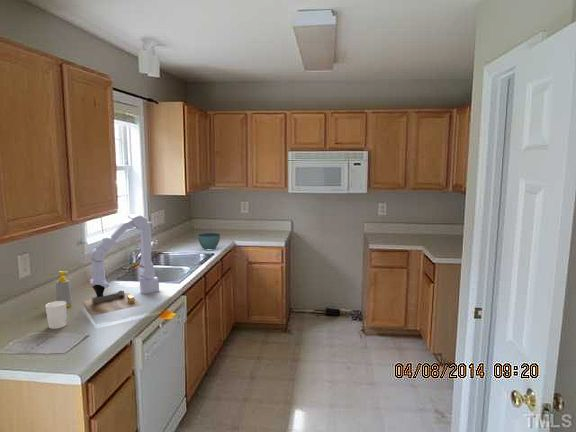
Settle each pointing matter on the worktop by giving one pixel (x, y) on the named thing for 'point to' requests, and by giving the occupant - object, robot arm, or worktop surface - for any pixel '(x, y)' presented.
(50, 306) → the white cup
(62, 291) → the soap bottle
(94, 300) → the swing bar
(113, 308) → the latch board
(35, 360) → the worktop surface
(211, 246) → the plant pot
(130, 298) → the light wood small block
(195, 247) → the worktop surface
